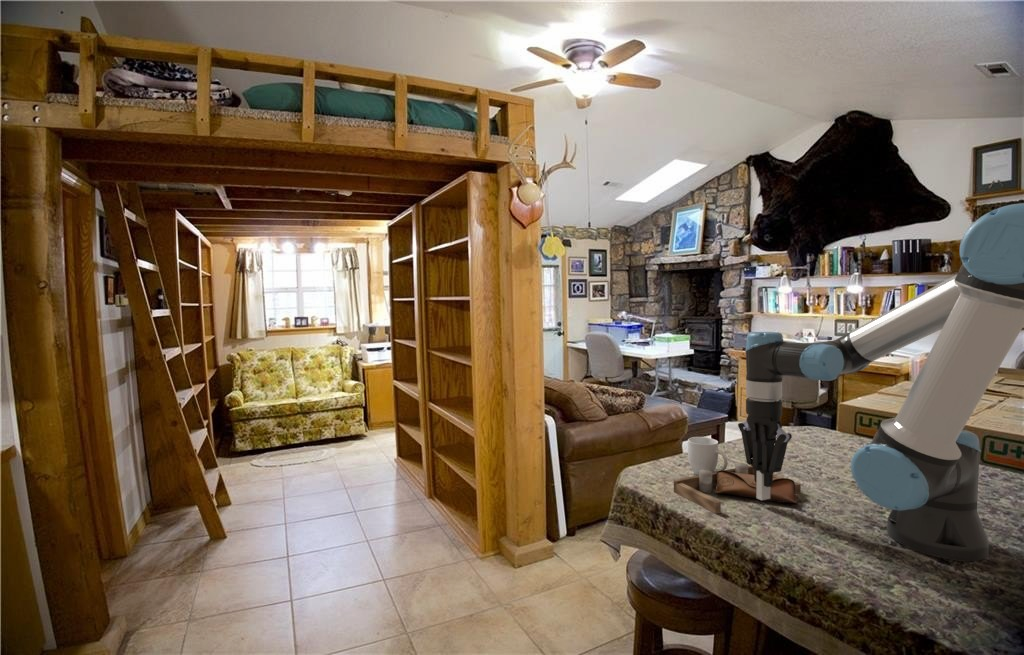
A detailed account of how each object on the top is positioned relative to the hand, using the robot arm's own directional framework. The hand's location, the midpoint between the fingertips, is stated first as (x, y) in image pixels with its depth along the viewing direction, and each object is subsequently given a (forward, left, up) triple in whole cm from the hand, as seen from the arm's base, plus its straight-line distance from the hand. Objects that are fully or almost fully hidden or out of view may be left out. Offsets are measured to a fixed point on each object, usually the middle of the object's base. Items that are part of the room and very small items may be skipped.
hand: (763, 498), depth 114 cm
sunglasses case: (+4, -2, -3) cm, 5 cm away
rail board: (+8, 0, -2) cm, 8 cm away
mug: (+21, -3, -2) cm, 21 cm away
